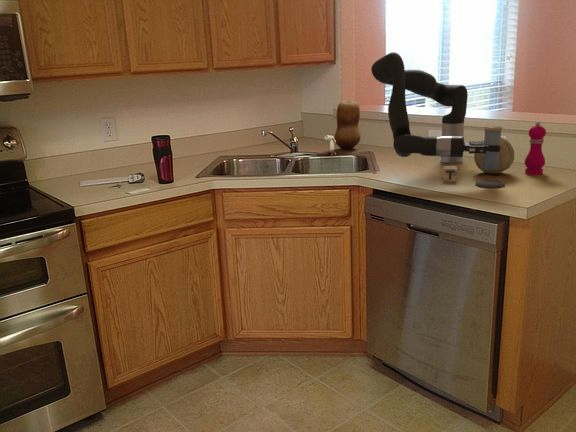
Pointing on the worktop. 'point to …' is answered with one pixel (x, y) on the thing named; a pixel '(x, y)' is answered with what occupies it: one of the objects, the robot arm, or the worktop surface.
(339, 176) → the worktop surface
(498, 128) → the canister
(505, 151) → the cantaloupe
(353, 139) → the butternut squash
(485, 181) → the coaster
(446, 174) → the t block
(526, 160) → the pepper mill
